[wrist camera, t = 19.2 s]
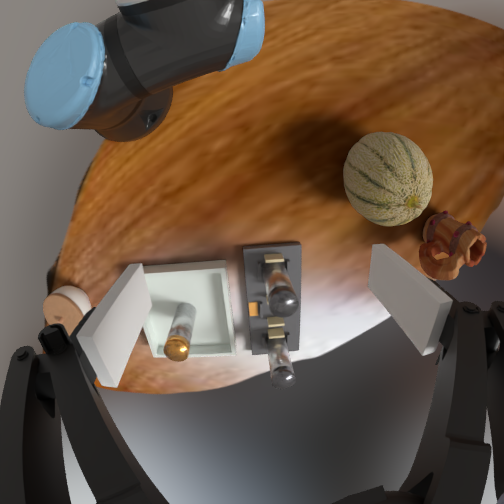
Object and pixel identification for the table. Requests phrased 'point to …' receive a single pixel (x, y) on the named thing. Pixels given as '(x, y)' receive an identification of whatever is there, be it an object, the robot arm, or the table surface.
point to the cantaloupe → (387, 178)
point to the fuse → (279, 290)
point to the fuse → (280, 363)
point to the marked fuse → (180, 333)
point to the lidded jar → (66, 307)
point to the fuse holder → (258, 301)
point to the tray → (201, 297)
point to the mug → (449, 246)
